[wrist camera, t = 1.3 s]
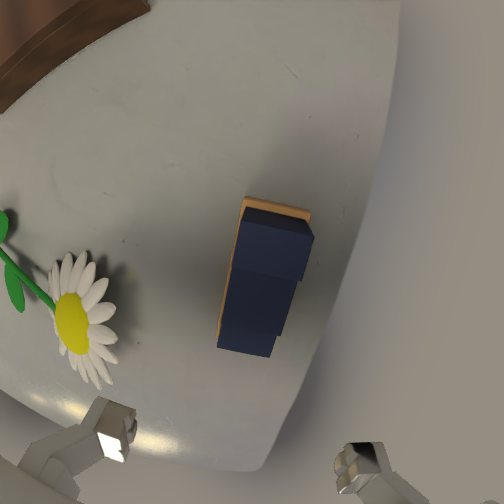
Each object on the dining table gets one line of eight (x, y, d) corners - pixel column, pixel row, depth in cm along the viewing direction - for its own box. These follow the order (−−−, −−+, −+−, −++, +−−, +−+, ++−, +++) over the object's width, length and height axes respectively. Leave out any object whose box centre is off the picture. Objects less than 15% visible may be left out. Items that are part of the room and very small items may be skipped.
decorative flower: (-27, 243, 28) (124, 386, 27) (-51, 251, 23) (102, 412, 23) (-12, 158, 24) (164, 295, 24) (-40, 159, 20) (137, 319, 19)
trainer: (244, 195, 22) (237, 210, 17) (309, 210, 22) (321, 229, 17) (217, 328, 26) (207, 369, 21) (272, 339, 26) (272, 382, 21)
